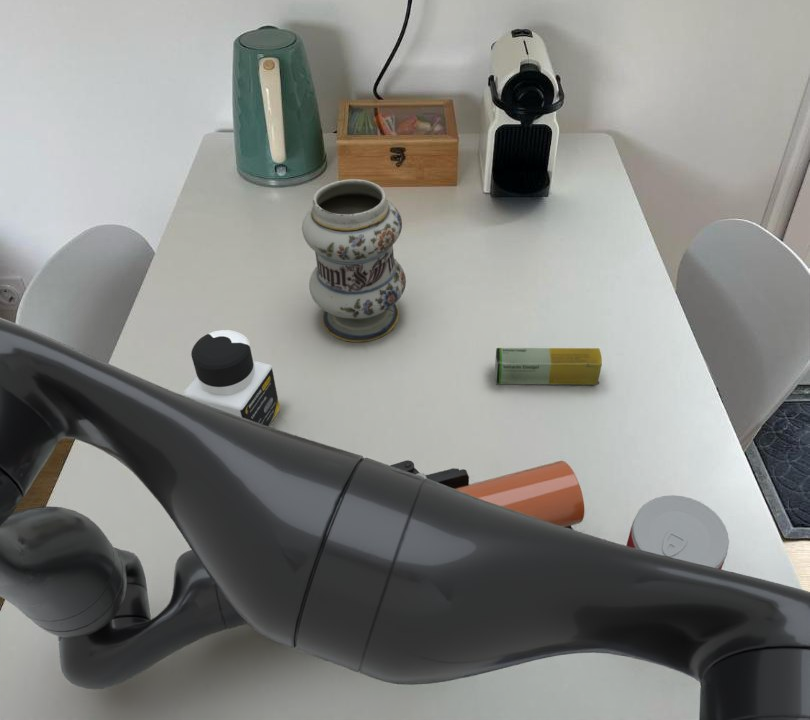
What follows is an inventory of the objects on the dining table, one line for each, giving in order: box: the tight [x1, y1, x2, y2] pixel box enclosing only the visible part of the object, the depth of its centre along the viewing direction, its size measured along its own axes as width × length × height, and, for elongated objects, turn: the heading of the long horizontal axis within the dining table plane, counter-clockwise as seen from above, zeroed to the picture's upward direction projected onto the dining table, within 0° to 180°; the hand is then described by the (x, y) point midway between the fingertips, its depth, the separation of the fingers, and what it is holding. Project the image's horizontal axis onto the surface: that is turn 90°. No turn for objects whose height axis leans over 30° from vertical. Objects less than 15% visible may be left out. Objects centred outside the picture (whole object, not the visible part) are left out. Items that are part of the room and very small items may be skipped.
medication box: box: [494, 347, 603, 386], centre depth 94 cm, size 12×3×4 cm, turn 87°
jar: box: [451, 460, 585, 527], centre depth 72 cm, size 12×6×6 cm, turn 107°
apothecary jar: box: [301, 178, 407, 343], centre depth 99 cm, size 12×12×18 cm
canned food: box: [625, 494, 730, 570], centre depth 70 cm, size 8×8×11 cm
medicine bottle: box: [182, 329, 281, 427], centre depth 88 cm, size 7×7×12 cm
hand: (483, 514), depth 72 cm, fingers open, 8 cm apart
